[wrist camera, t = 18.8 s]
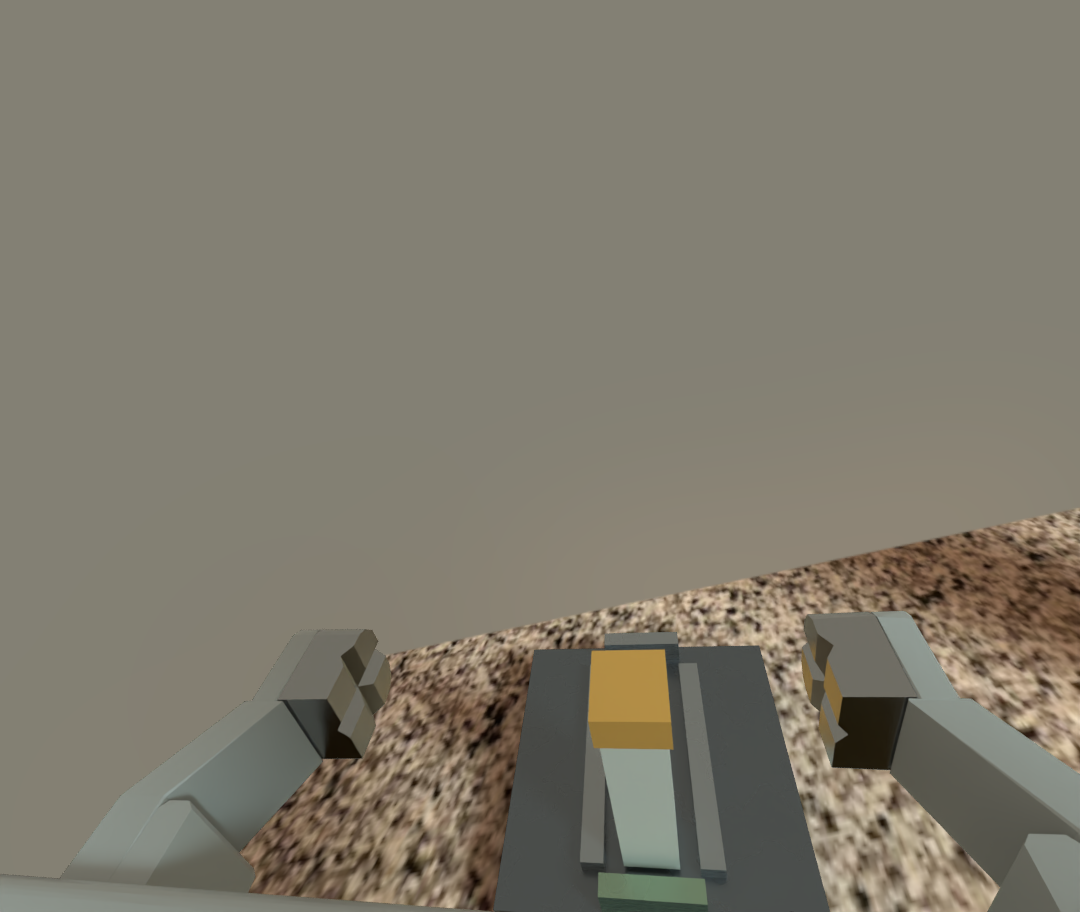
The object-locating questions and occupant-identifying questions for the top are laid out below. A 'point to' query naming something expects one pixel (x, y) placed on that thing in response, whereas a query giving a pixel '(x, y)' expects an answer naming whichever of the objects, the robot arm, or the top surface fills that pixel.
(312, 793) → the top surface
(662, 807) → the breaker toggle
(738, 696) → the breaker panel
